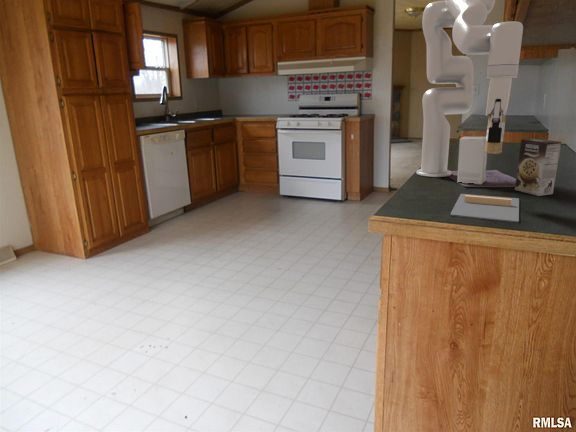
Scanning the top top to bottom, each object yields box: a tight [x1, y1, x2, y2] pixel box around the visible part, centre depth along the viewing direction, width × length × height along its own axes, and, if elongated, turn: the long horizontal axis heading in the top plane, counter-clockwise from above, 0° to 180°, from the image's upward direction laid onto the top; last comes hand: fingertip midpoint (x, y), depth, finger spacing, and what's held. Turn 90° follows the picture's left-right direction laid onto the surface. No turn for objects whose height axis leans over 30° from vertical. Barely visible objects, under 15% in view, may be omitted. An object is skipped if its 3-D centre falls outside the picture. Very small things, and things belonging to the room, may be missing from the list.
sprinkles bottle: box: [485, 104, 508, 154], centre depth 120 cm, size 5×5×13 cm
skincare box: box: [457, 135, 488, 185], centre depth 148 cm, size 8×7×16 cm
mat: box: [449, 193, 520, 223], centre depth 120 cm, size 24×16×2 cm, turn 153°
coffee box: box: [514, 138, 562, 197], centre depth 133 cm, size 9×6×16 cm
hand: (494, 140), depth 121 cm, fingers closed on sprinkles bottle, 4 cm apart
